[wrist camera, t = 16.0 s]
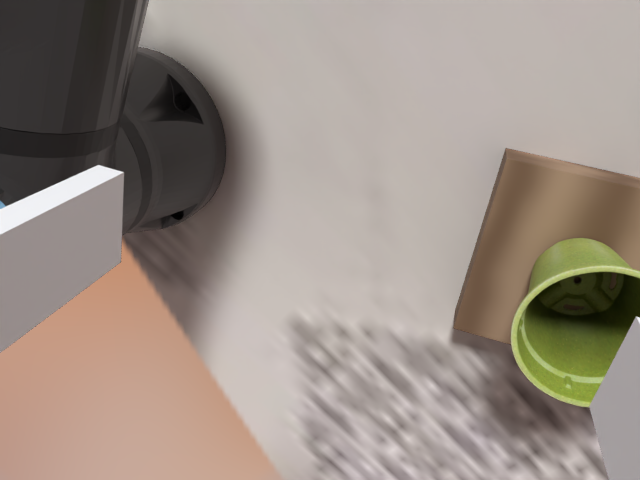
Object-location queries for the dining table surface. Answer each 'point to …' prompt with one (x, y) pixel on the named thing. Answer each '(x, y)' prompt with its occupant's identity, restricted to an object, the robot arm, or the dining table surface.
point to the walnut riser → (541, 232)
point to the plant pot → (574, 318)
